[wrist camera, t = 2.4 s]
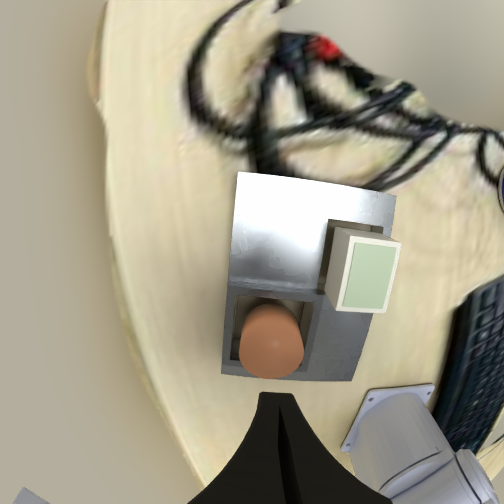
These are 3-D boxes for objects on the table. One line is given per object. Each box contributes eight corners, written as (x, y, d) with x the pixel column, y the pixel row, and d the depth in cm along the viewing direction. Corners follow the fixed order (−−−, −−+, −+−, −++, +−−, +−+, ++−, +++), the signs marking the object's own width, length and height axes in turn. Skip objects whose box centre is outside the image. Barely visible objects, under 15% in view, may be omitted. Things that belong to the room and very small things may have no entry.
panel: (345, 366, 21) (354, 389, 18) (224, 358, 21) (219, 382, 18) (383, 194, 18) (403, 196, 15) (240, 173, 18) (236, 170, 15)
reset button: (293, 353, 18) (297, 380, 15) (240, 348, 18) (236, 375, 15) (302, 306, 17) (309, 329, 14) (245, 300, 17) (241, 323, 14)
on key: (367, 294, 17) (385, 314, 14) (324, 290, 17) (336, 311, 14) (380, 233, 16) (402, 243, 13) (335, 226, 16) (351, 235, 13)
